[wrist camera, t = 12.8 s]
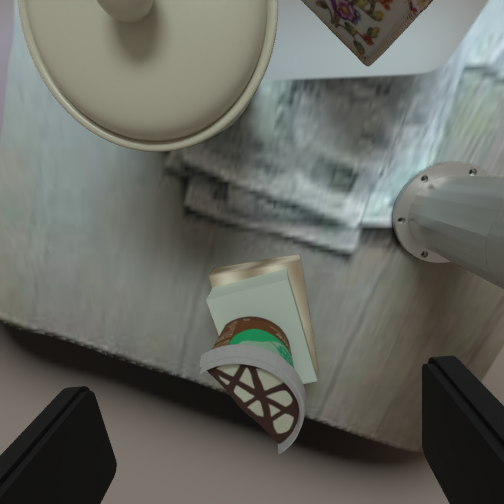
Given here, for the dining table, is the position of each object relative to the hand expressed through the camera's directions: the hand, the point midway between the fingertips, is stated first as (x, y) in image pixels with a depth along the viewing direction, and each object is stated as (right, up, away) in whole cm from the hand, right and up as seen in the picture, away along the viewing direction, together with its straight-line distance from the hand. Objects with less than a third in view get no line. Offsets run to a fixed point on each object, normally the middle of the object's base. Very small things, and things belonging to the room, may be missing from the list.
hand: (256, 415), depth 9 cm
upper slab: (+1, -5, +33) cm, 33 cm away
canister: (-6, +25, +28) cm, 38 cm away
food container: (+2, -6, +29) cm, 29 cm away
